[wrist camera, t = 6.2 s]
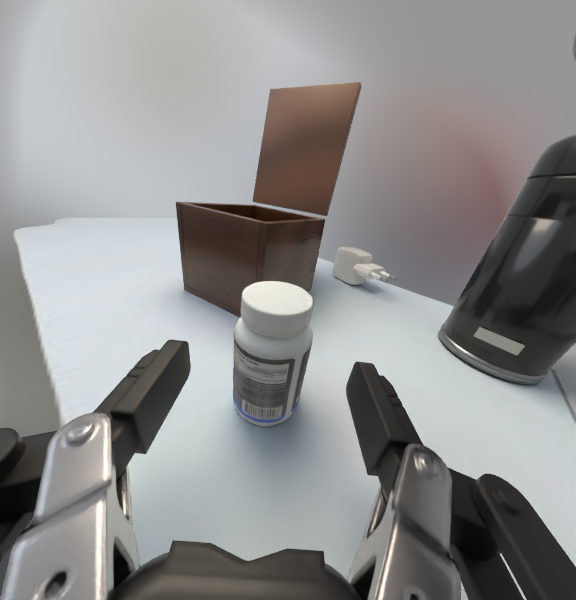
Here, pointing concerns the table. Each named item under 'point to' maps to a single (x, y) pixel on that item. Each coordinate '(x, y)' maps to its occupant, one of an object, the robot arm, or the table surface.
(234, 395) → the pill bottle
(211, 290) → the supply box
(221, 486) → the table surface
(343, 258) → the power adapter
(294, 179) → the lid
